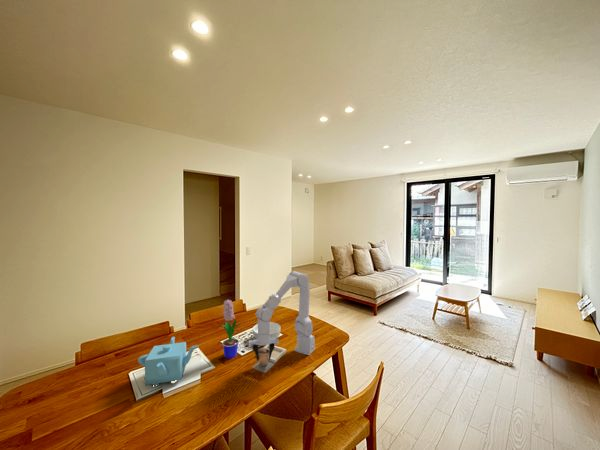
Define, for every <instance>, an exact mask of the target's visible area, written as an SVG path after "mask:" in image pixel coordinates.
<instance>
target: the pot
mask: <svg viewBox="0 0 600 450" xmlns="http://www.w3.org/2000/svg"><path fill="white" fill-rule="evenodd" d="M258 352H259V361H258V362H259V364H260V365H262V366H265V365H267V364H268V361H269V349H268V348H264V347H261V348H258Z"/></svg>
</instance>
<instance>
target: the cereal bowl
mask: <svg viewBox="0 0 600 450" xmlns="http://www.w3.org/2000/svg"><path fill="white" fill-rule="evenodd" d="M280 334H281V325H280V324H279V323H277V322H273V321H270V338H274V339H278V338H279V336H280ZM252 335H253V338H254V339H258V323H256V324H255V325H254V326H253V327H252Z"/></svg>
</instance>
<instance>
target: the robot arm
mask: <svg viewBox="0 0 600 450" xmlns="http://www.w3.org/2000/svg"><path fill="white" fill-rule="evenodd" d="M310 286H311V284H310V282H309V275H307V274H306V273H302V272H298V271H296V270H292V271H290V272H289V274H287V275H286V279H285V281H284V282H283V283H282V284H281V286H280V287H279V288H278V290H277V291H276V293H274V294H271V295H270V296H268V299H267V300H266V301H265V302H264V303H263V304H262V305H261V306H259V307H258V308H257V309H256V312H255V316H256V318H257V324H258V339H256V338H254V339H251V340H248V347H252V350H253V352H254V353H255V356H256V360H257V361H258V362H259V346H266V345H268V344H269V360H270V358H271V354H272V351H273V349H274V346H275V345H276V346H277V345H279V343H280V341H279V338H276V339H274V338H270V322H271V321H270V320H271V319H272V318H273V317H272V316H273V313H274V312H275V310H276V308H278V307H279V305H280V304H281V302H282V301H281V300H282V297H284V296H285V294H286V293H288V292H289V290H290V289H292V288H296V287H298V288H299V299H298V300H299V301H298V302H299V304H298V316H297V317H295V322H294V325H293V326H294V329H295V331H296V339H297V340H296V347H295V348H294V349H293V351H294V352H297V353H300V354H304V355H307V356H310V355H311V354H312V353H313V351H315V350H316V344H315V343H316V342H315V341H316V340H315V339H316V337H315V336H314V335H312V333H313V330H314V327H313V321H312V320H311V318H310V314H309V313H310V295H311V294H310V292H311V287H310Z"/></svg>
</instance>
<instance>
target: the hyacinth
mask: <svg viewBox="0 0 600 450" xmlns="http://www.w3.org/2000/svg"><path fill="white" fill-rule="evenodd" d="M222 305H223V309H222V313H223V319H224V320H225V323H224V324H221V326H222V327H223V329H224V330H225V332H226V334H227V336H228V338H227V339H224V340H223V342H222V347H223V355H224V358H226V359H233V358H235V357H236V356H237V355H238V346H239V339H238V338H235V337H233V335H234V333H235V331H236V330H237V328H239V327H240V326H241V325H242V323H240V324H238V325H237V326H236V324H237V319H236V317H235V314H234V313H235V312H234V310H235V309H234V305H233V301H232V300H230V299H226V300H225V301H223V303H222ZM233 319H235V320H234V321H233V323H232V322H231V321H232V320H233Z"/></svg>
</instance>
